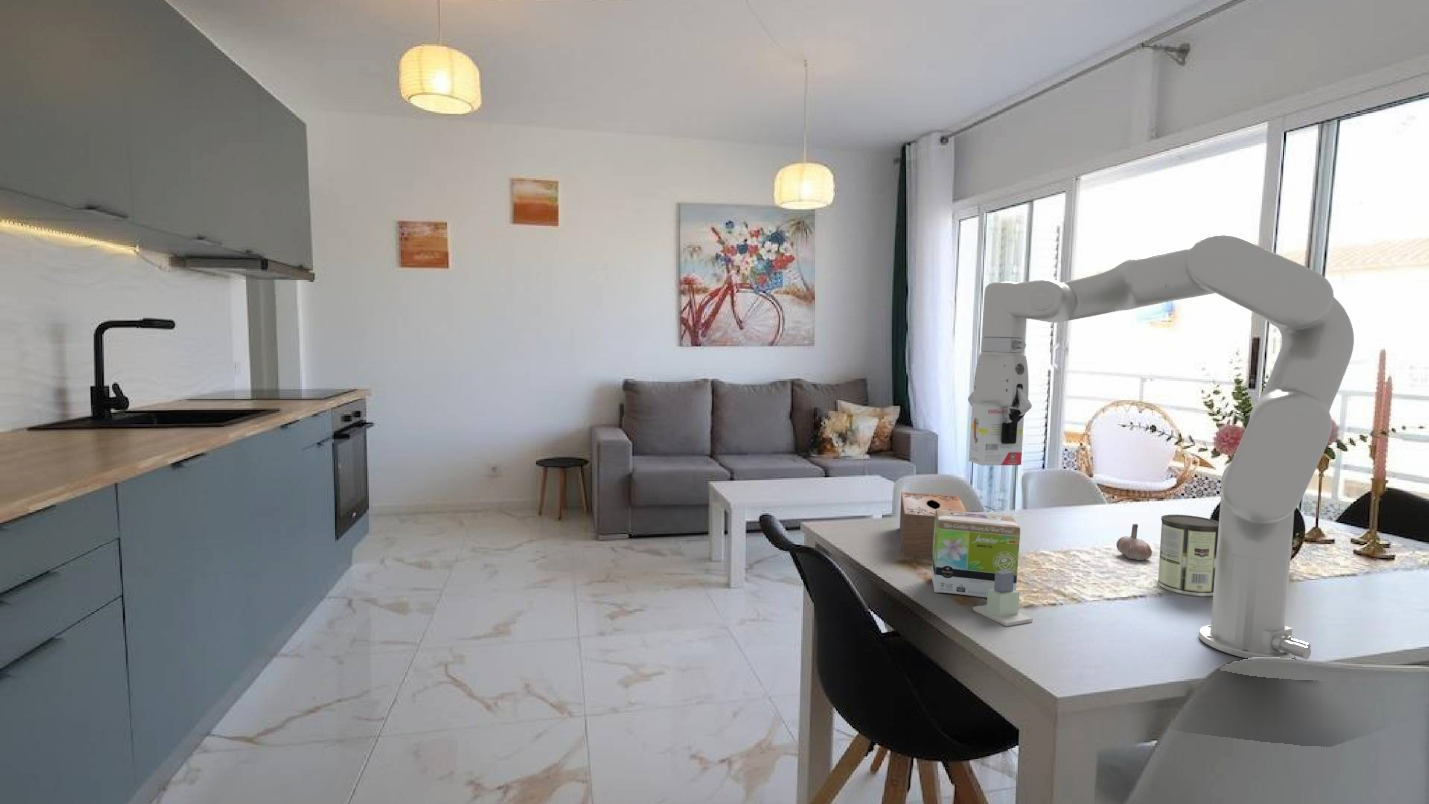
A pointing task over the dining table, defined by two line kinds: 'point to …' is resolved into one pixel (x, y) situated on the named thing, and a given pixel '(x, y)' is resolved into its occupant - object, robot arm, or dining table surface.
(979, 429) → the ink box
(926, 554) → the tissue box cover
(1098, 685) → the dining table surface
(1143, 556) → the garlic bulb
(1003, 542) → the tea box
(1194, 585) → the coffee can
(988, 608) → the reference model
